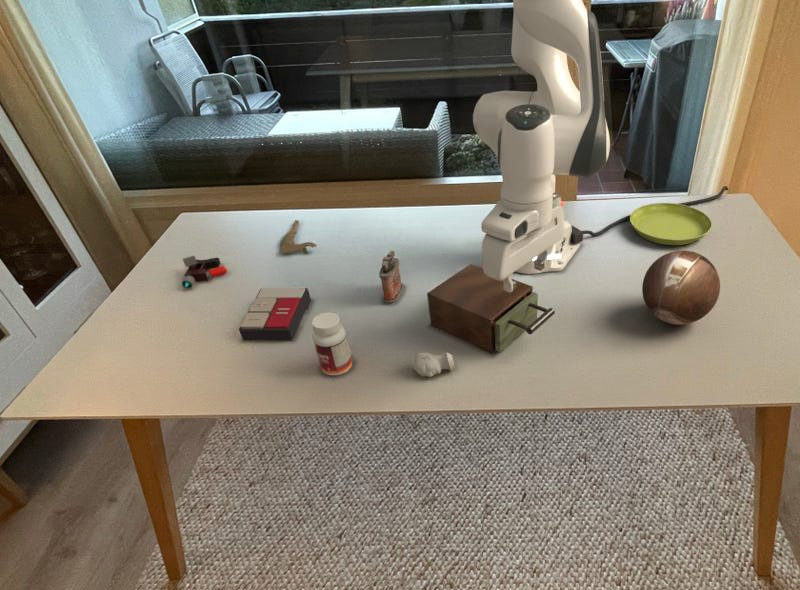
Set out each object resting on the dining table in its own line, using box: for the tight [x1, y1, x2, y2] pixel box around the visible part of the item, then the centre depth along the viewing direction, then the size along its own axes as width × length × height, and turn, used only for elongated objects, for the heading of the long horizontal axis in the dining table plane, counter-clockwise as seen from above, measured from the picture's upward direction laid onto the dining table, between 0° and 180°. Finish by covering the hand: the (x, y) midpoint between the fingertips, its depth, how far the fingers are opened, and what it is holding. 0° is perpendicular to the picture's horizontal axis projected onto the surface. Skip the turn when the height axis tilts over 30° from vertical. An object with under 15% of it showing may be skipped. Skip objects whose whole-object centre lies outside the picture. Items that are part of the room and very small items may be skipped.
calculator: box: [238, 287, 312, 341], centre depth 124 cm, size 11×4×15 cm
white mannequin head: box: [413, 352, 455, 378], centre depth 109 cm, size 4×8×5 cm
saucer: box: [629, 202, 713, 246], centre depth 149 cm, size 21×21×3 cm
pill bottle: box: [311, 312, 353, 376], centre depth 109 cm, size 6×6×11 cm
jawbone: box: [279, 219, 318, 255], centre depth 154 cm, size 9×20×2 cm, turn 29°
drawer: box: [493, 291, 556, 353], centre depth 117 cm, size 21×13×7 cm, turn 52°
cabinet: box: [426, 263, 534, 355], centre depth 119 cm, size 16×14×8 cm
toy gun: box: [181, 255, 228, 290], centre depth 139 cm, size 10×12×5 cm
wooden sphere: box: [641, 249, 721, 326], centre depth 116 cm, size 15×15×15 cm
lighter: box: [378, 249, 404, 305], centre depth 129 cm, size 8×3×10 cm, turn 168°
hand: (525, 279), depth 106 cm, fingers open, 8 cm apart
